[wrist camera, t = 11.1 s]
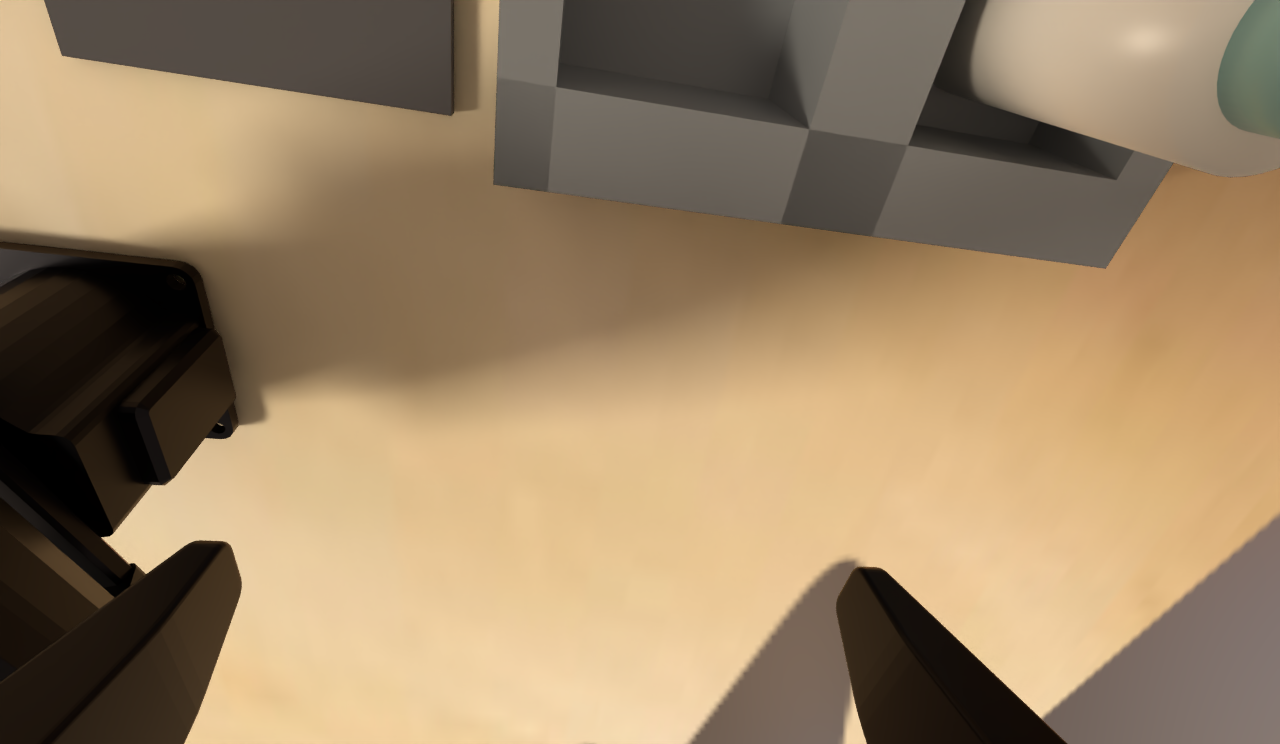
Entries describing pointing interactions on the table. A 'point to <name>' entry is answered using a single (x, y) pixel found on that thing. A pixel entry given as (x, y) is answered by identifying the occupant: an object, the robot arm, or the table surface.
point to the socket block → (798, 125)
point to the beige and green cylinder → (1131, 74)
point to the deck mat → (277, 44)
